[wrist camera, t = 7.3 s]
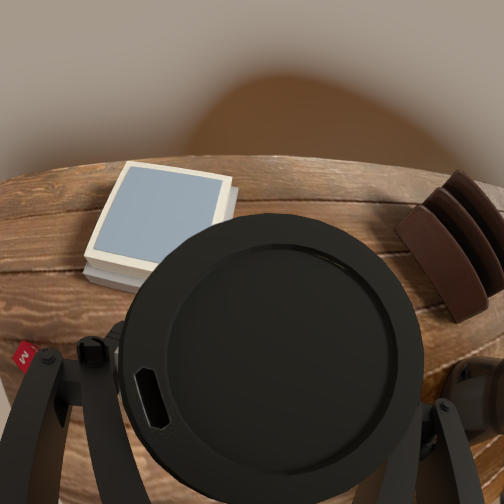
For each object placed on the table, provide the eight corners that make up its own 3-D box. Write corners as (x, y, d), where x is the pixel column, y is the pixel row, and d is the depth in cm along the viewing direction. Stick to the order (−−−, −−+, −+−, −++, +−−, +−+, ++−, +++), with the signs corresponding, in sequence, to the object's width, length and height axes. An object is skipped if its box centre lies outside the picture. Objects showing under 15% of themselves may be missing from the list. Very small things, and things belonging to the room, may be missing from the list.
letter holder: (419, 210, 47) (463, 162, 35) (476, 294, 41) (530, 261, 29) (391, 229, 44) (441, 176, 31) (455, 325, 37) (519, 294, 25)
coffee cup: (319, 414, 19) (468, 420, 6) (197, 456, 17) (175, 563, 4) (276, 302, 23) (359, 177, 10) (157, 335, 21) (77, 235, 7)
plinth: (236, 201, 41) (241, 171, 35) (214, 310, 33) (217, 293, 28) (130, 183, 39) (123, 153, 34) (91, 282, 32) (72, 261, 26)
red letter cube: (38, 377, 25) (26, 375, 22) (24, 361, 25) (11, 358, 23) (49, 360, 26) (37, 356, 24) (34, 344, 27) (22, 339, 24)
